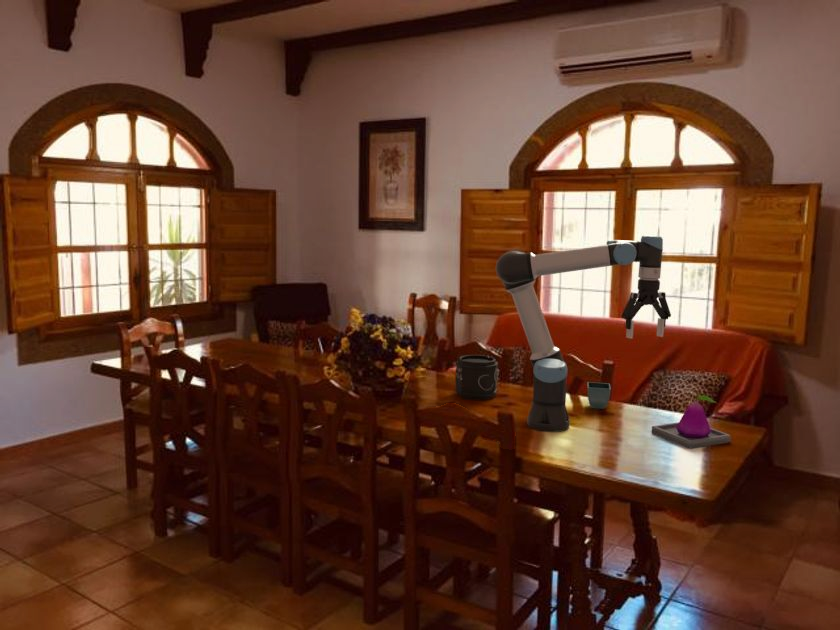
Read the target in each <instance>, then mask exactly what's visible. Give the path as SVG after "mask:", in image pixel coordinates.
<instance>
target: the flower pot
mask: <svg viewBox="0 0 840 630" xmlns="http://www.w3.org/2000/svg"><path fill="white" fill-rule="evenodd" d="M586 383H587V384H586V385H587V387H586V388H587V400H588V404H589V406H590V408H591V409H601V410H605V408H607V405H608V404H609V401H610V397H611V390H612V387H611V384H610V383H609V382H608V383H606V382H604V383H603V382H594V381H593V382H592V381H591V382H590V381H587V382H586Z"/></svg>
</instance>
